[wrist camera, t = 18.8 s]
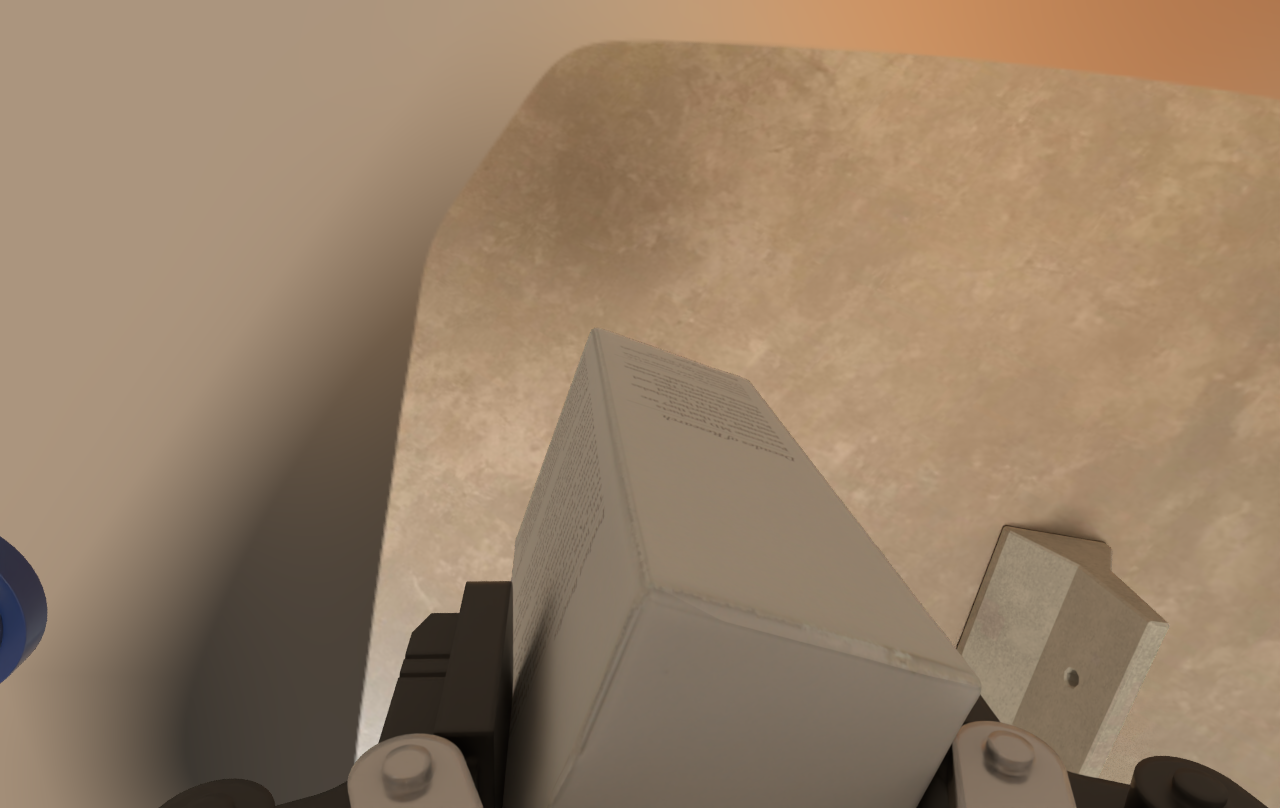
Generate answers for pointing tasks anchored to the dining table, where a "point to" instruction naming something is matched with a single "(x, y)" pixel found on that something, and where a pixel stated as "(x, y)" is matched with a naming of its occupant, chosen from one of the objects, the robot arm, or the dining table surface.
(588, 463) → the cosmetic box
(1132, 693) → the barrier
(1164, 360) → the dining table surface
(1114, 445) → the dining table surface
